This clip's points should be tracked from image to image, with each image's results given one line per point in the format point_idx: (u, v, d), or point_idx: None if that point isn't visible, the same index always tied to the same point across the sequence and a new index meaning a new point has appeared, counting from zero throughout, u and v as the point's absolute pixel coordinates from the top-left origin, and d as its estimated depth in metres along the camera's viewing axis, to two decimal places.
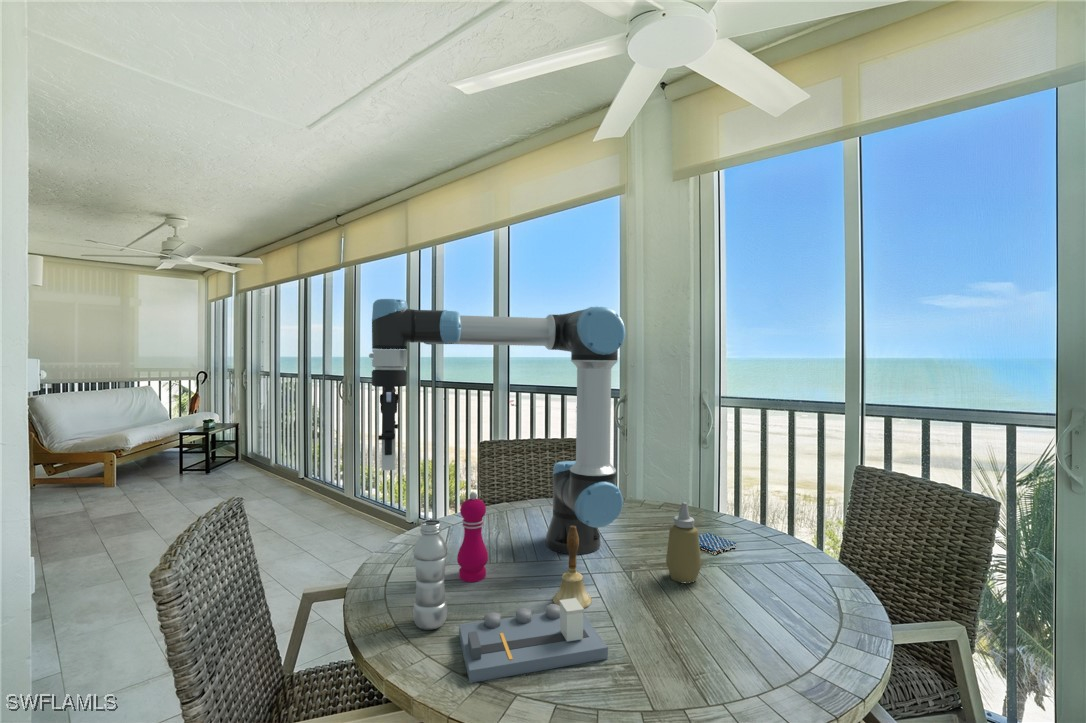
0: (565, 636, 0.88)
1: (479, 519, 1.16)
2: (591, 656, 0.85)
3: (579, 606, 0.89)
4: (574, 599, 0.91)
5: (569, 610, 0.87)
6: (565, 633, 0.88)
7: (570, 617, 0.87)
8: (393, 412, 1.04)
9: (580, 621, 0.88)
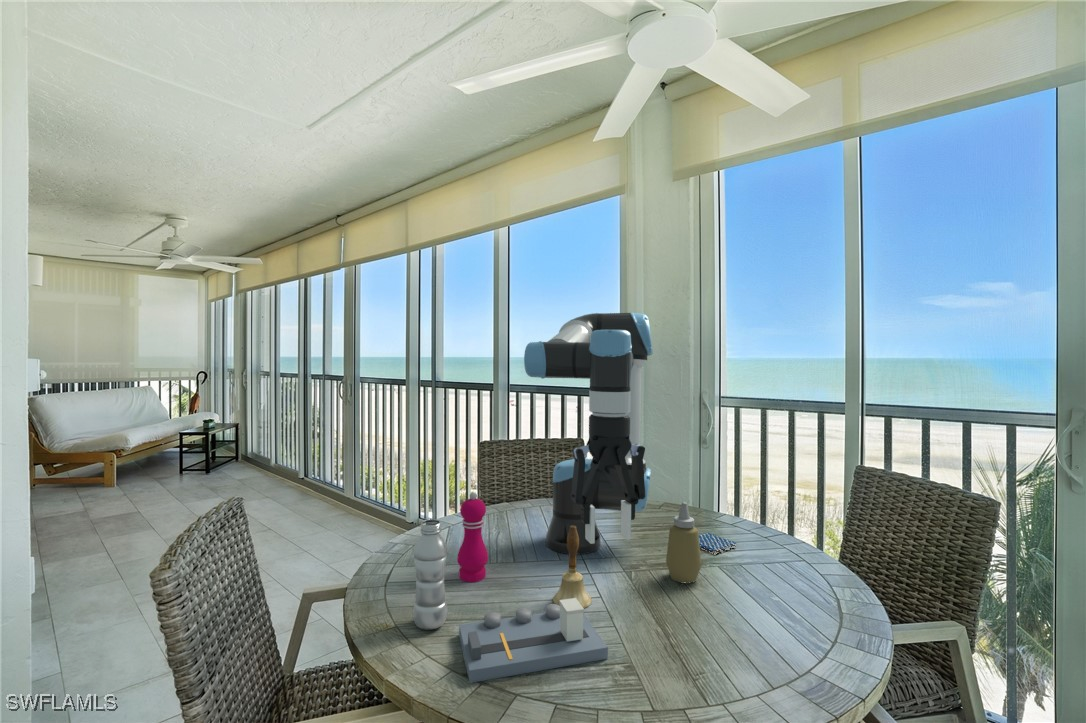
0: (565, 636, 0.88)
1: (479, 519, 1.16)
2: (591, 656, 0.85)
3: (579, 606, 0.89)
4: (574, 599, 0.91)
5: (569, 610, 0.87)
6: (565, 633, 0.88)
7: (570, 617, 0.87)
8: (577, 474, 0.88)
9: (580, 621, 0.88)
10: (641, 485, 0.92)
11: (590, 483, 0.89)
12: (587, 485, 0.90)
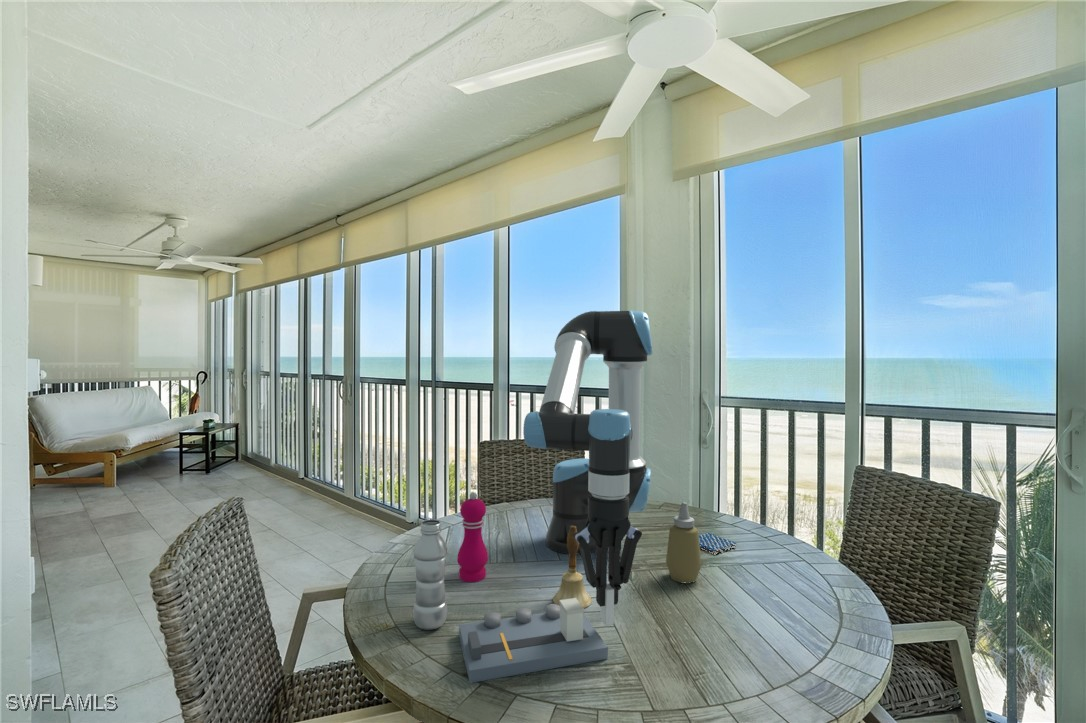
0: (565, 636, 0.88)
1: (479, 519, 1.16)
2: (591, 656, 0.85)
3: (579, 606, 0.89)
4: (574, 599, 0.91)
5: (569, 610, 0.87)
6: (565, 633, 0.88)
7: (570, 617, 0.87)
8: (585, 560, 0.89)
9: (580, 621, 0.88)
10: (627, 569, 0.91)
11: (599, 566, 0.90)
12: (597, 568, 0.91)
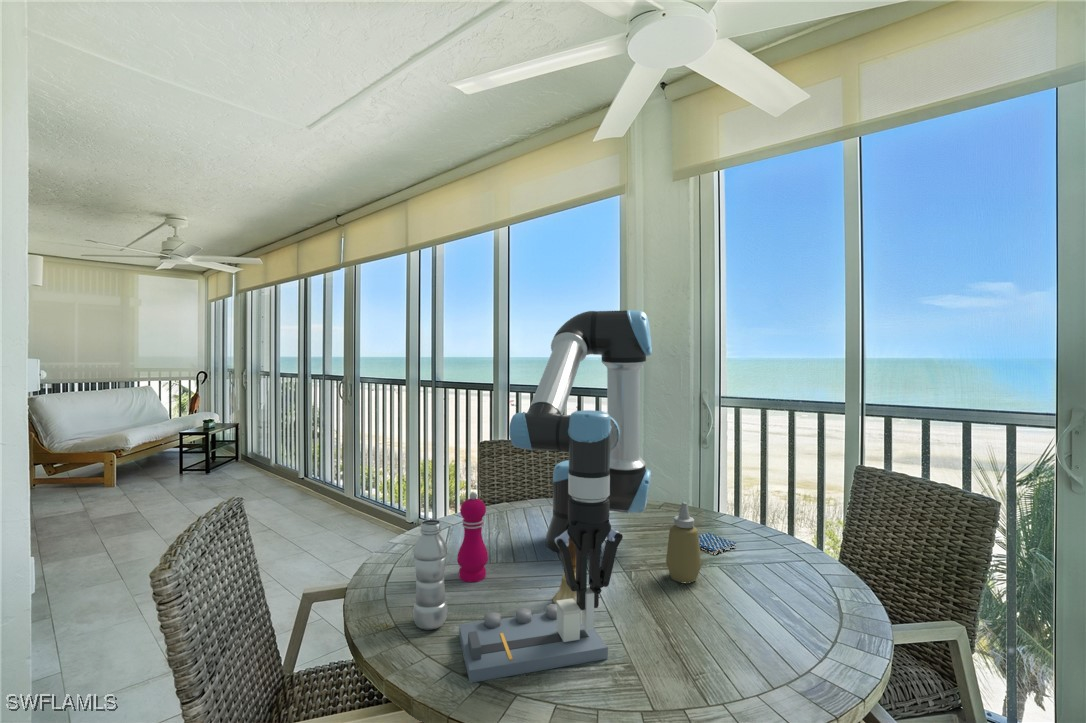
0: (562, 637, 0.88)
1: (479, 519, 1.16)
2: (591, 656, 0.85)
3: (576, 606, 0.89)
4: (571, 599, 0.91)
5: (566, 610, 0.87)
6: (562, 634, 0.88)
7: (567, 617, 0.87)
8: (565, 564, 0.88)
9: (577, 621, 0.88)
10: (608, 572, 0.90)
11: (579, 570, 0.89)
12: (578, 571, 0.90)
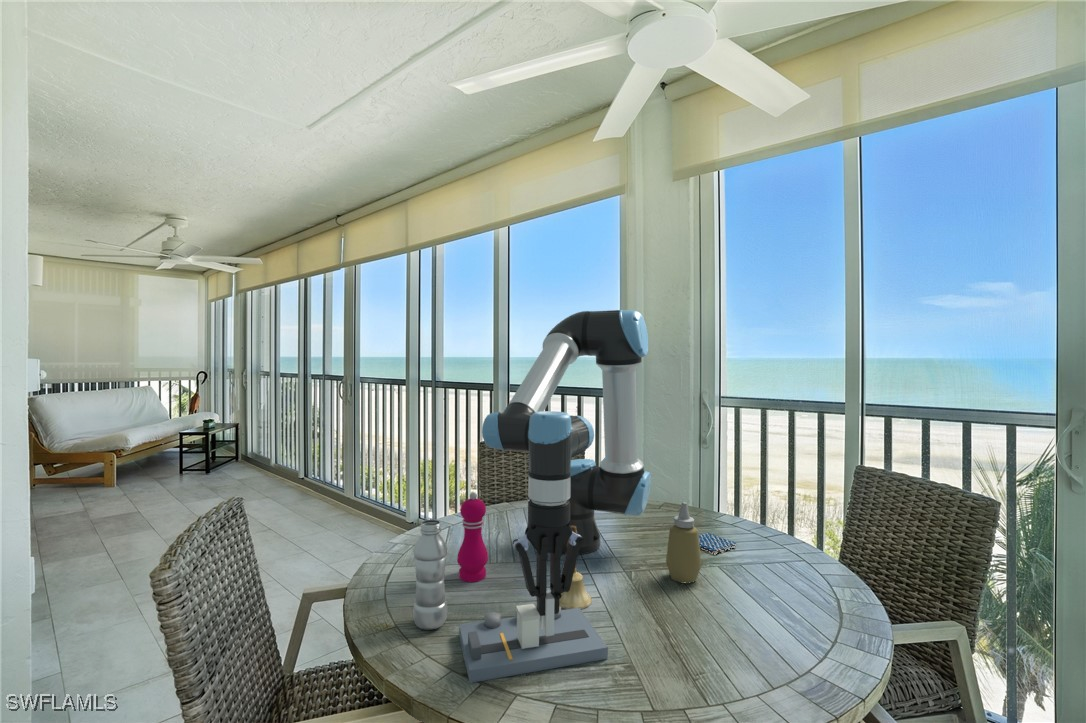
0: (521, 643, 0.86)
1: (479, 519, 1.16)
2: (591, 656, 0.85)
3: (535, 612, 0.87)
4: (531, 605, 0.89)
5: (524, 616, 0.85)
6: (521, 640, 0.86)
7: (525, 623, 0.85)
8: (524, 568, 0.86)
9: (536, 628, 0.86)
10: (569, 577, 0.88)
11: (539, 574, 0.87)
12: (538, 576, 0.88)
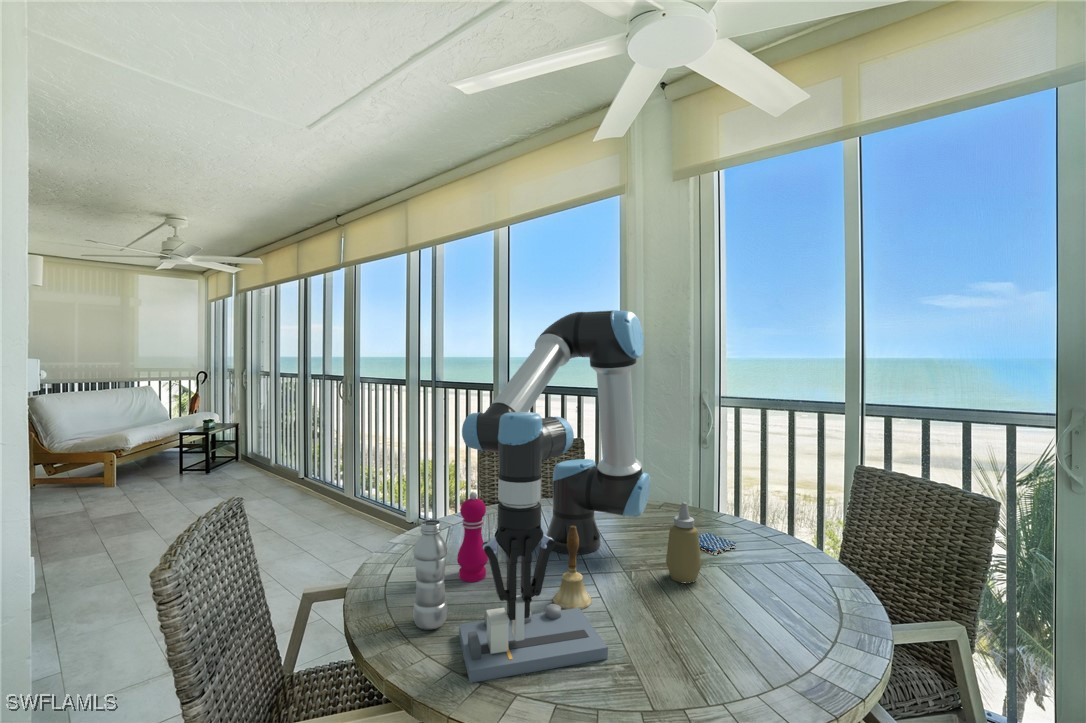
0: (489, 648, 0.84)
1: (479, 519, 1.16)
2: (591, 656, 0.85)
3: (505, 616, 0.85)
4: (502, 609, 0.87)
5: (493, 621, 0.84)
6: (489, 645, 0.84)
7: (494, 628, 0.83)
8: (493, 572, 0.84)
9: (505, 632, 0.84)
10: (539, 581, 0.86)
11: (509, 578, 0.85)
12: (508, 580, 0.86)
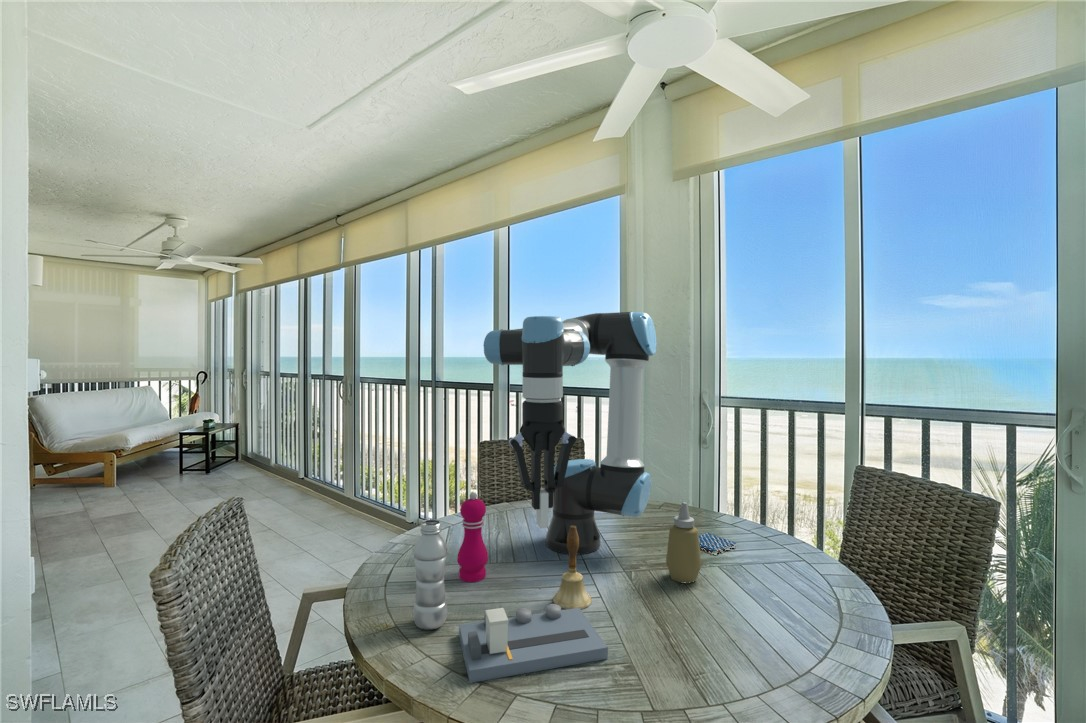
0: (489, 648, 0.84)
1: (479, 519, 1.16)
2: (591, 656, 0.85)
3: (504, 616, 0.85)
4: (501, 609, 0.87)
5: (492, 621, 0.84)
6: (489, 645, 0.84)
7: (493, 628, 0.83)
8: (519, 463, 0.90)
9: (504, 632, 0.84)
10: (562, 473, 0.92)
11: (533, 470, 0.91)
12: (532, 472, 0.92)
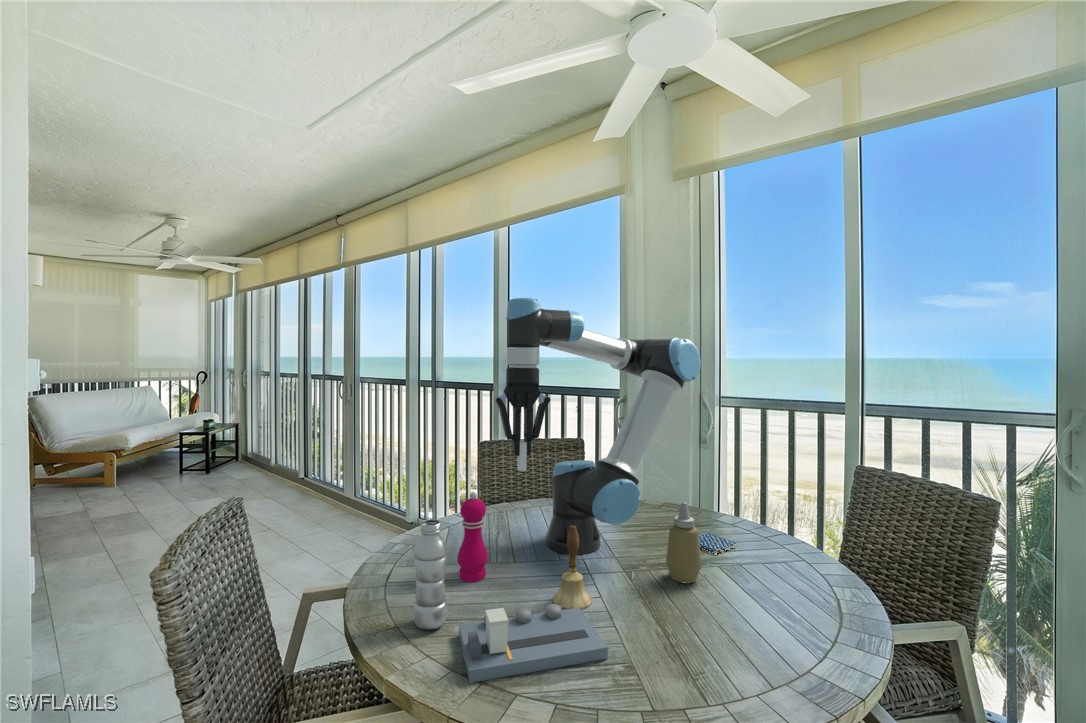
0: (489, 648, 0.84)
1: (479, 519, 1.16)
2: (591, 656, 0.85)
3: (504, 616, 0.85)
4: (501, 609, 0.87)
5: (492, 621, 0.84)
6: (489, 645, 0.84)
7: (493, 628, 0.83)
8: (502, 417, 1.11)
9: (504, 632, 0.84)
10: (538, 427, 1.13)
11: (515, 423, 1.12)
12: (514, 426, 1.13)
